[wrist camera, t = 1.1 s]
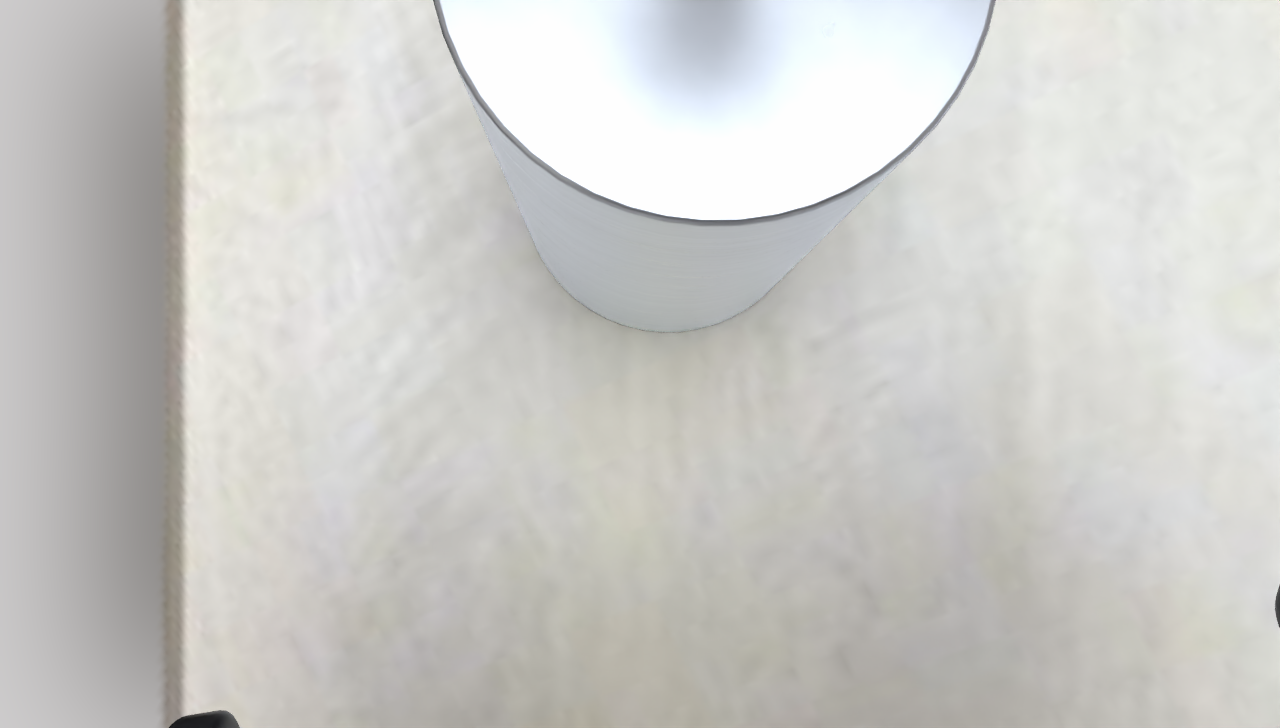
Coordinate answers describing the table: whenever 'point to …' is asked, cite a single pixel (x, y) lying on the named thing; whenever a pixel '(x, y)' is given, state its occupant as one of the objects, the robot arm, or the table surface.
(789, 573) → the table surface
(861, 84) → the grey upright cylinder
